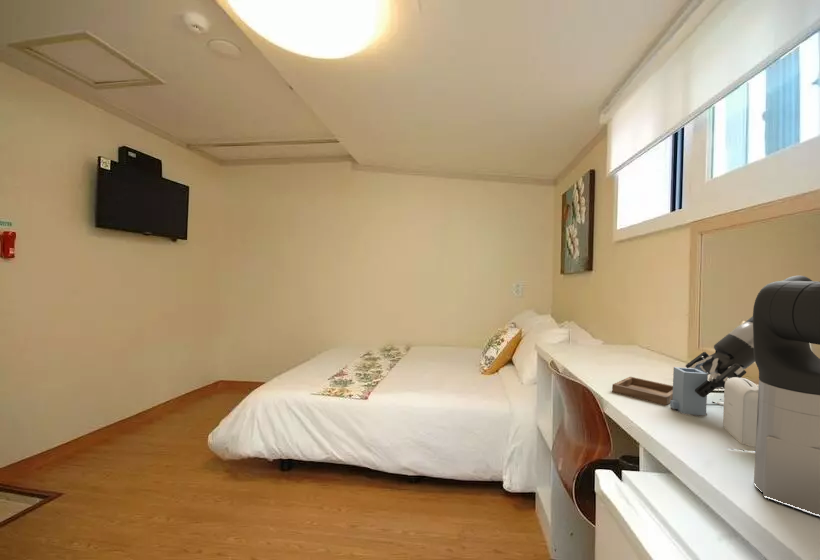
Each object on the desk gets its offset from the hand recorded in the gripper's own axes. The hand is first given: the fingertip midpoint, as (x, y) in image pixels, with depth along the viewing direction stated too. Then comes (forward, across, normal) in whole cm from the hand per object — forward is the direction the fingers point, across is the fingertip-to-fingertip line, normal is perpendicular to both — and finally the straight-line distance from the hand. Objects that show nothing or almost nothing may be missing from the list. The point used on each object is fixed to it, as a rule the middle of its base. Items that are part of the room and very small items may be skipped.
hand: (688, 388), depth 90 cm
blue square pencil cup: (+4, 0, -4) cm, 5 cm away
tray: (+8, +11, 0) cm, 14 cm away
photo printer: (+2, -13, -7) cm, 15 cm away
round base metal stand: (+4, 0, -4) cm, 6 cm away
